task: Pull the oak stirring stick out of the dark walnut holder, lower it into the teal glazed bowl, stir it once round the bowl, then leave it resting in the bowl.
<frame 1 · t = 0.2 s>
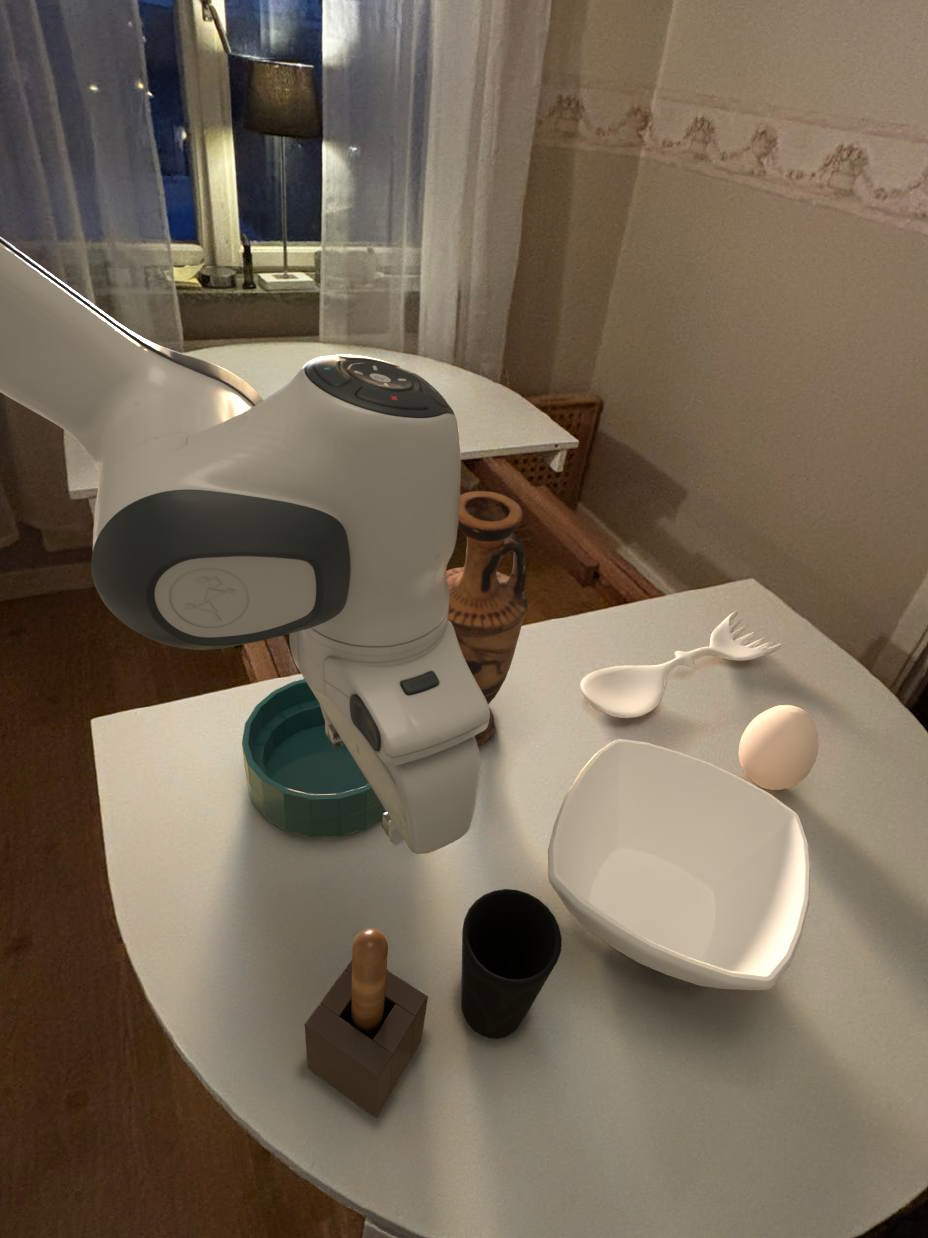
hand: (367, 783, 53), 23 cm above the table, tool pointing down, fingers open, 8 cm apart
vase: (459, 725, 90), on the table
holder: (365, 1054, 60), on the table
spoon: (675, 676, 101), on the table
stick: (368, 1002, 54), in the holder
mixing bowl: (329, 775, 81), on the table
egg: (760, 780, 87), on the table
bowl: (648, 914, 72), on the table
cup: (492, 1006, 64), on the table
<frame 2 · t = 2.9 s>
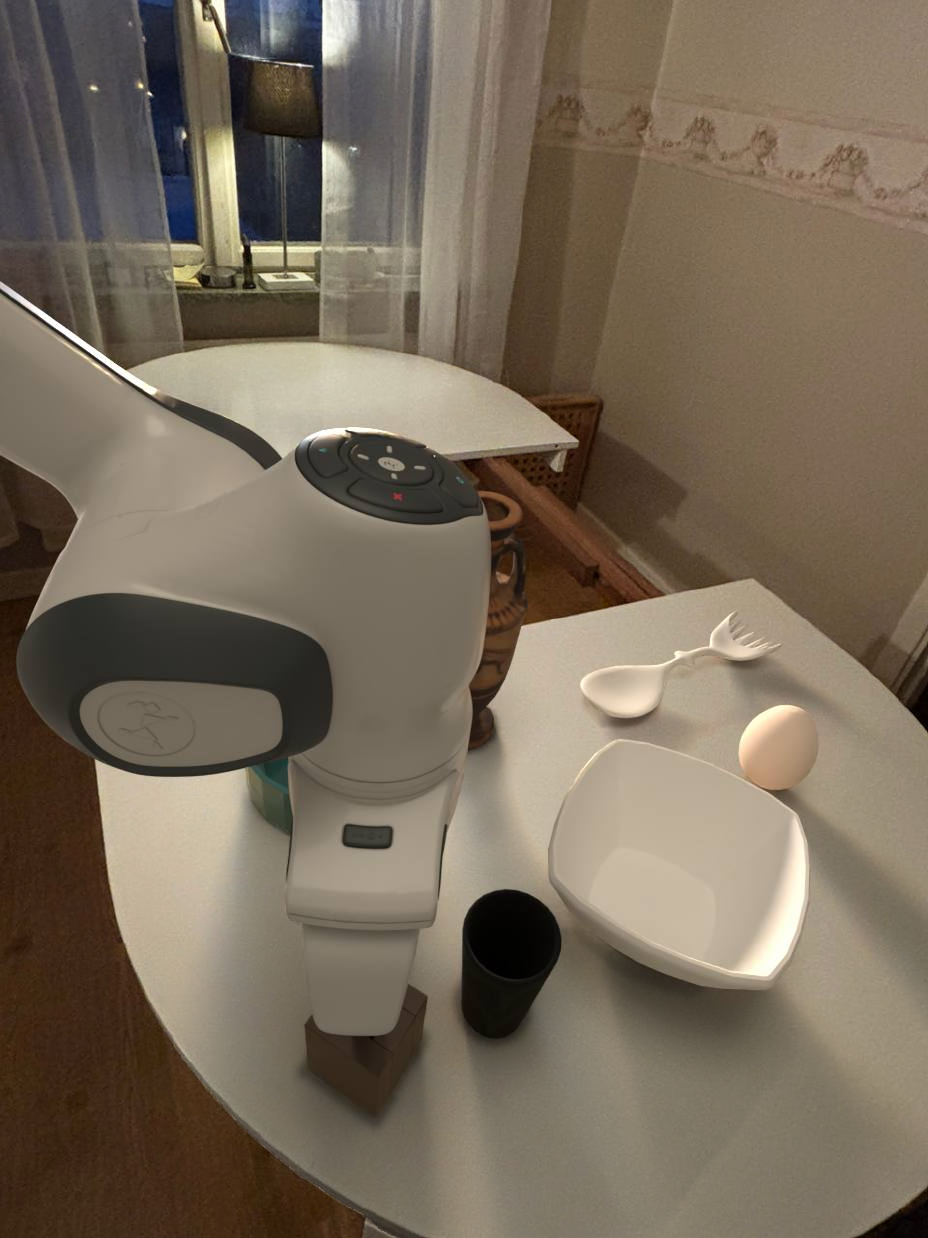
hand: (372, 900, 45), 23 cm above the table, tool pointing down, fingers open, 8 cm apart
nothing on the table moved.
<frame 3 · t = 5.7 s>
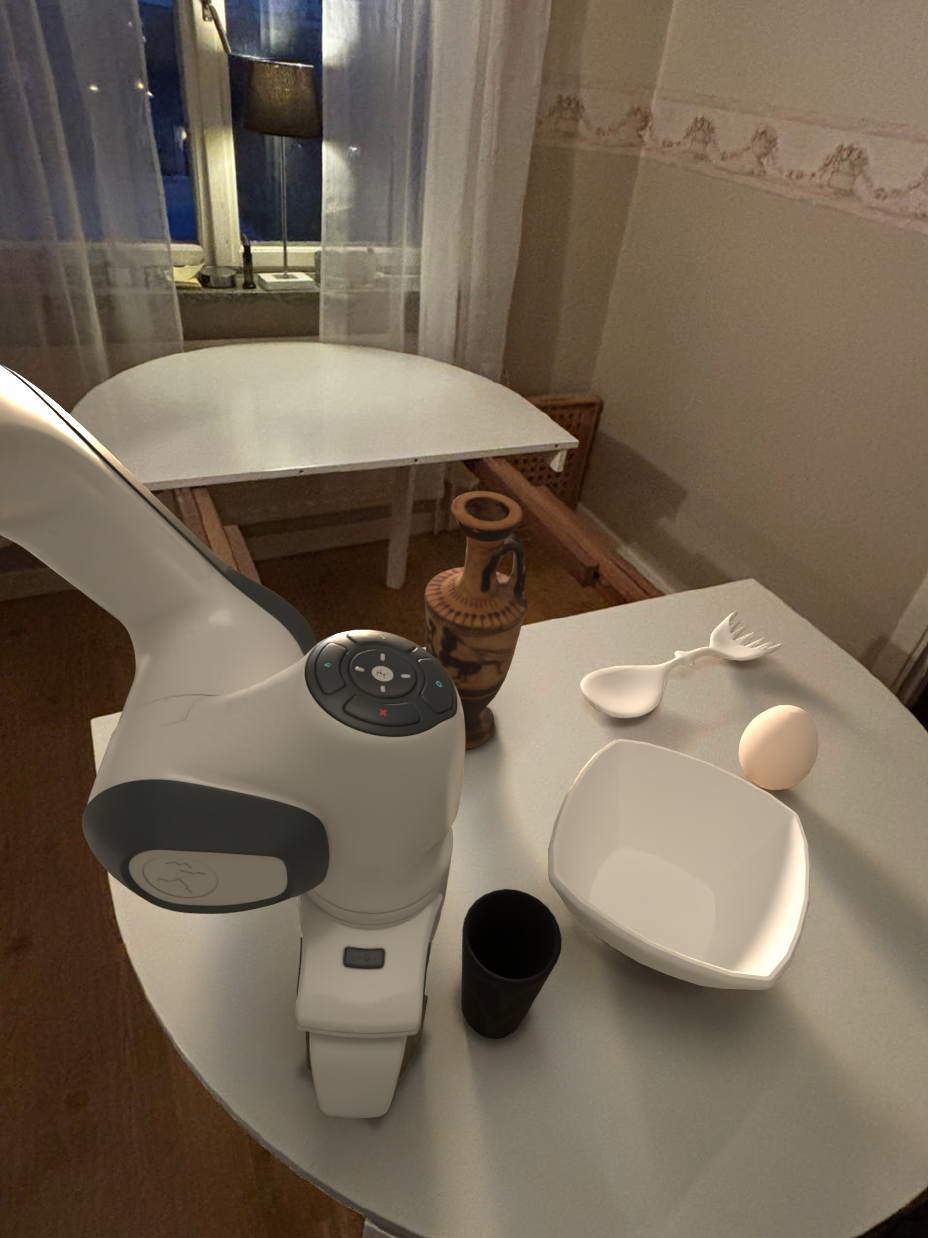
hand: (369, 981, 52), 13 cm above the table, tool pointing down, fingers closed on stick, 2 cm apart
stick: (362, 1003, 54), in the holder, touching gripper
everything else where it was.
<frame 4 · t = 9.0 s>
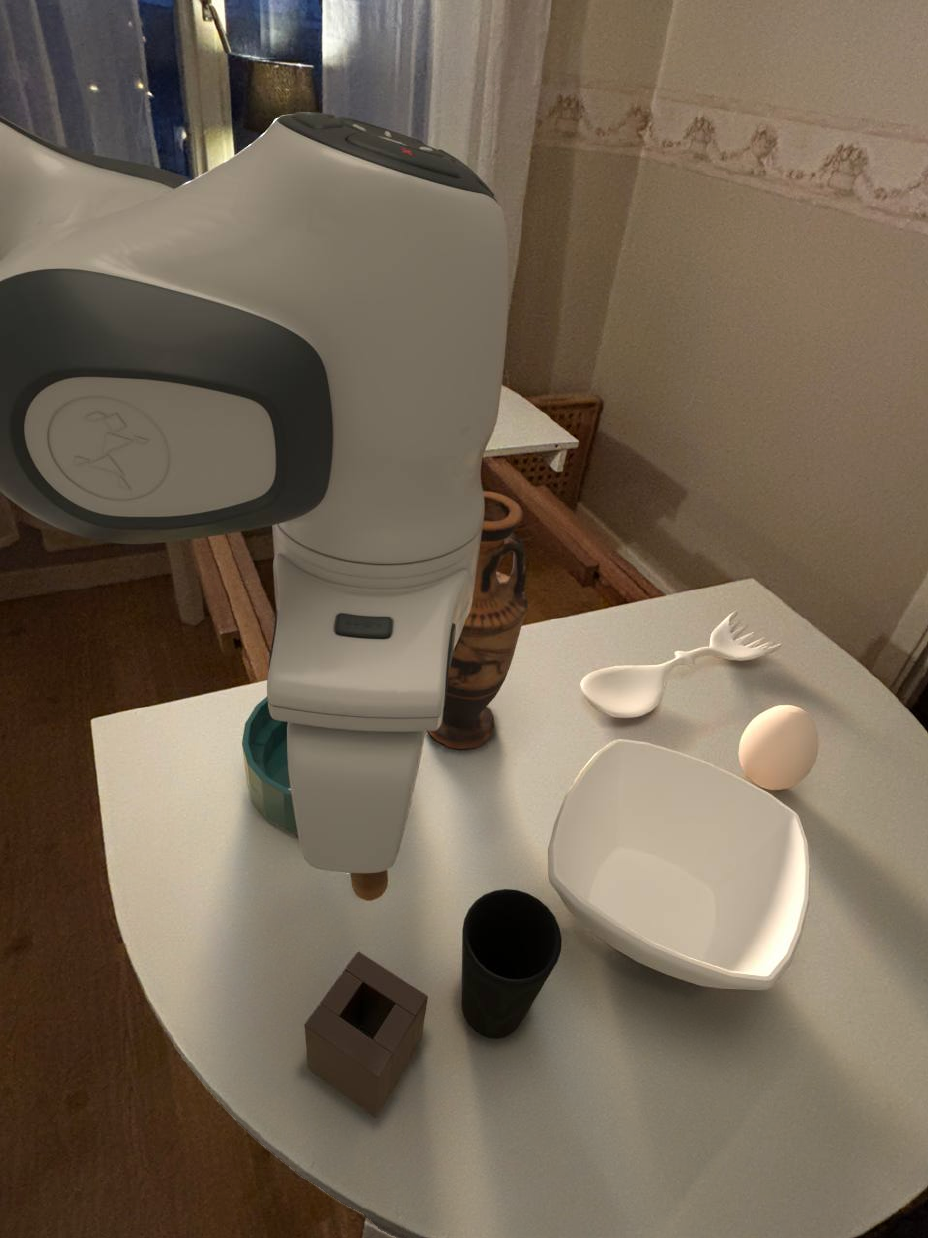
hand: (370, 767, 41), 33 cm above the table, tool pointing down, fingers closed on stick, 2 cm apart
stick: (363, 805, 43), point 29 cm above the table, touching gripper
everything else where it was.
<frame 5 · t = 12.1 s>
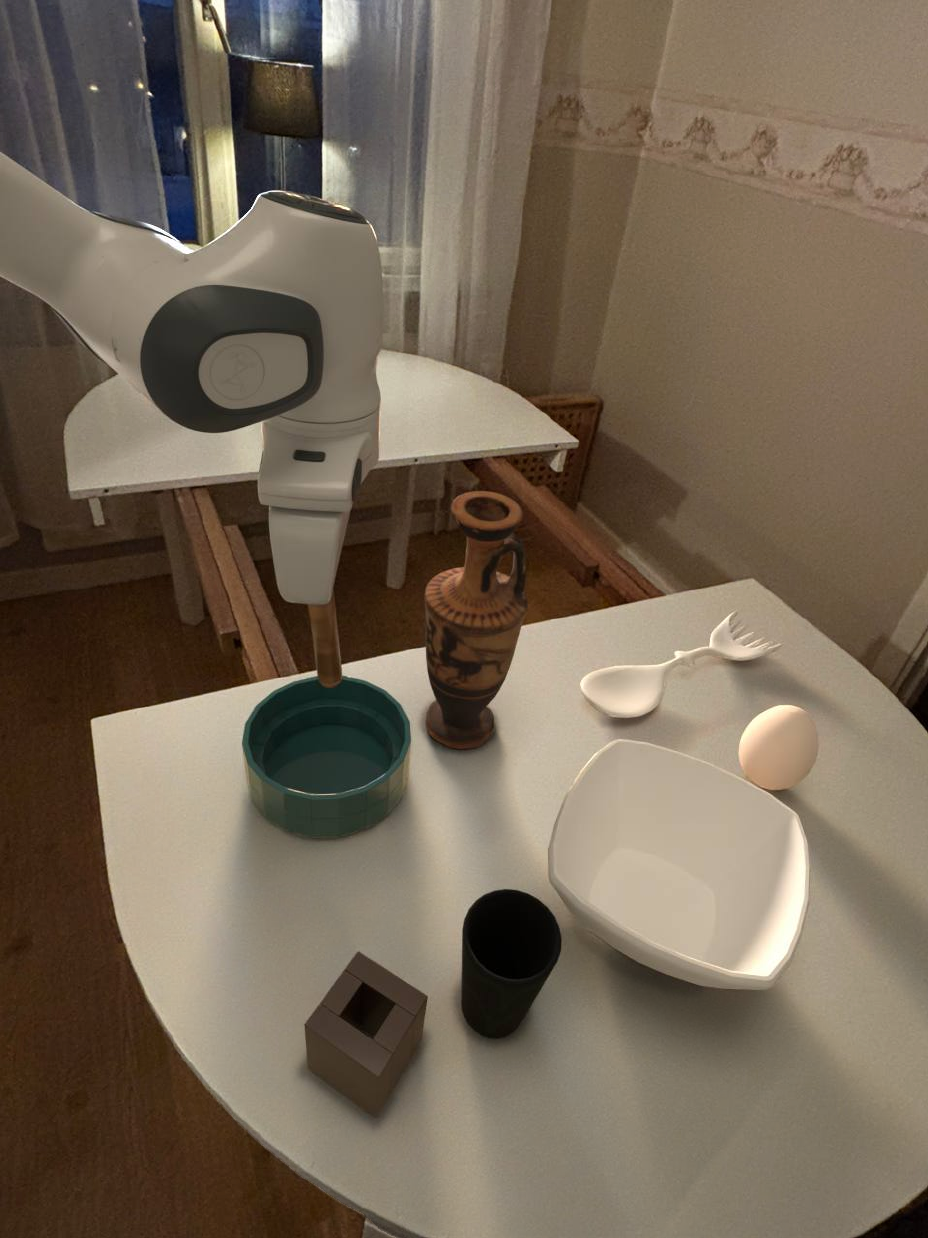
hand: (325, 581, 65), 26 cm above the table, tool pointing down, fingers closed on stick, 2 cm apart
stick: (322, 611, 67), point 23 cm above the table, touching gripper
everything else where it was.
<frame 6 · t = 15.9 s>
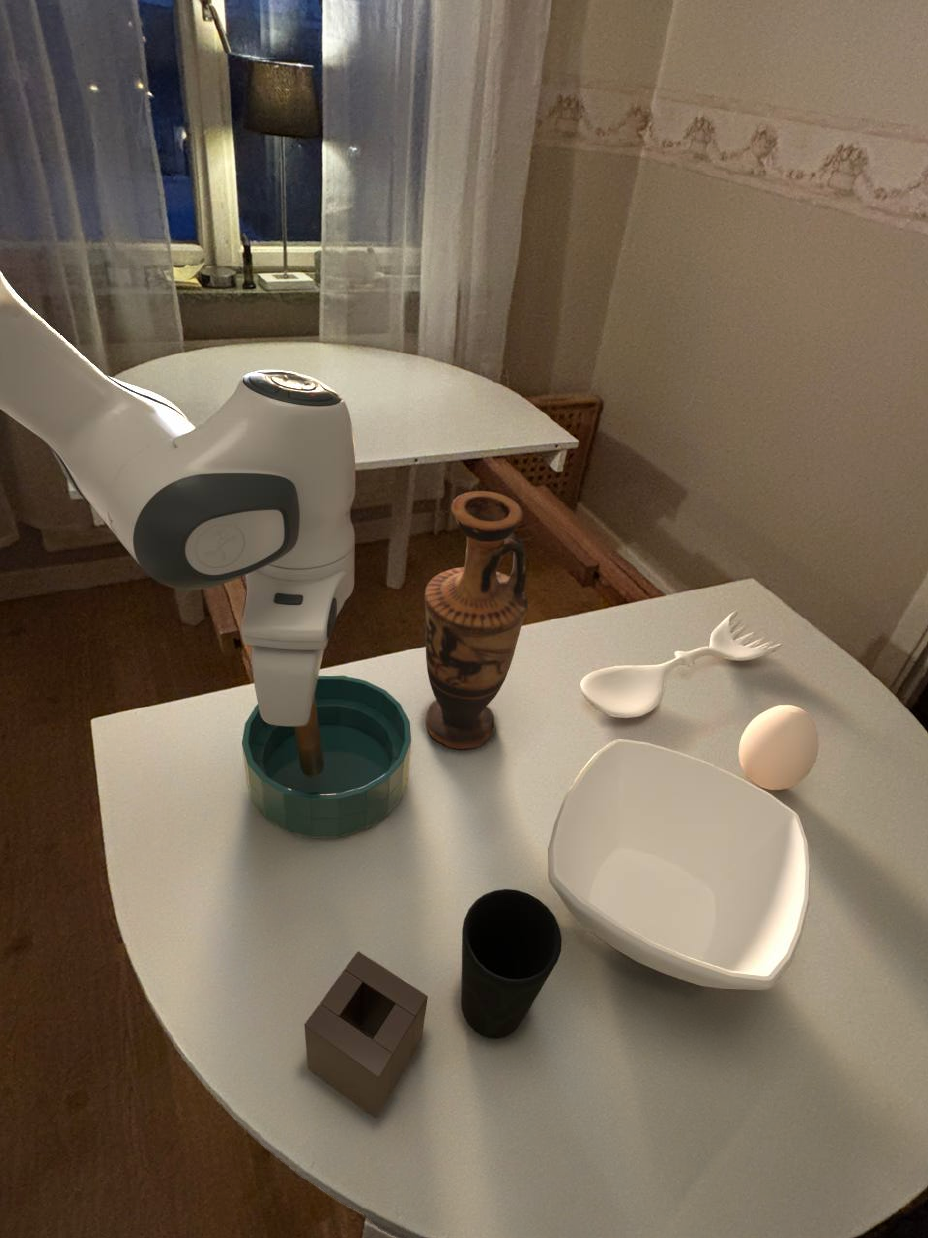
hand: (306, 687, 70), 15 cm above the table, tool pointing down, fingers closed on stick, 2 cm apart
stick: (304, 712, 72), point 12 cm above the table, touching gripper
everything else where it was.
when the fingers open (13 cm above the table, at t = 18.8 s): stick drops 3 cm and tips over, resting on mixing bowl.
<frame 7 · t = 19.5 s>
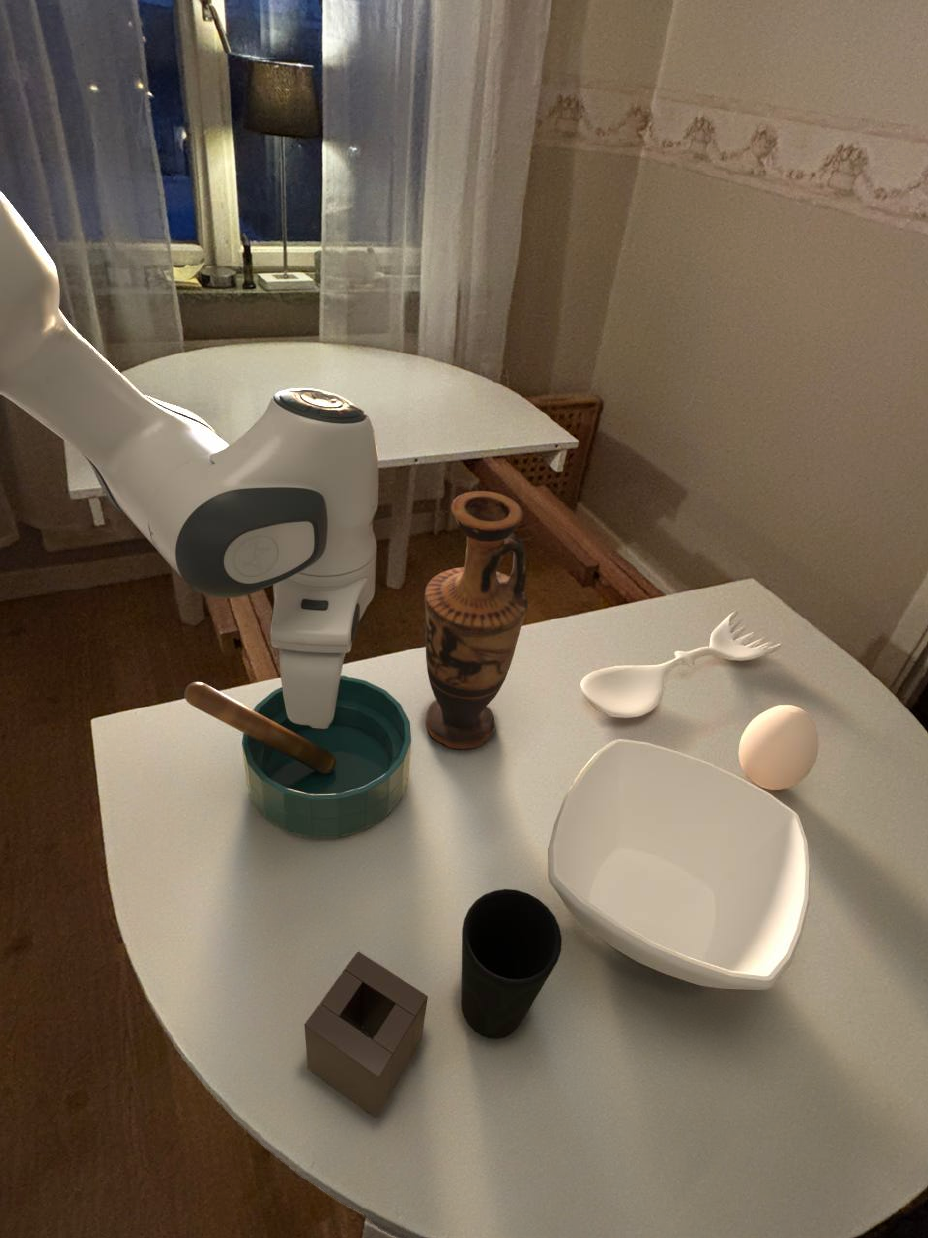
hand: (327, 688, 73), 13 cm above the table, tool pointing down, fingers open, 8 cm apart
stick: (264, 730, 76), in the mixing bowl, tilted 49°
everything else where it was.
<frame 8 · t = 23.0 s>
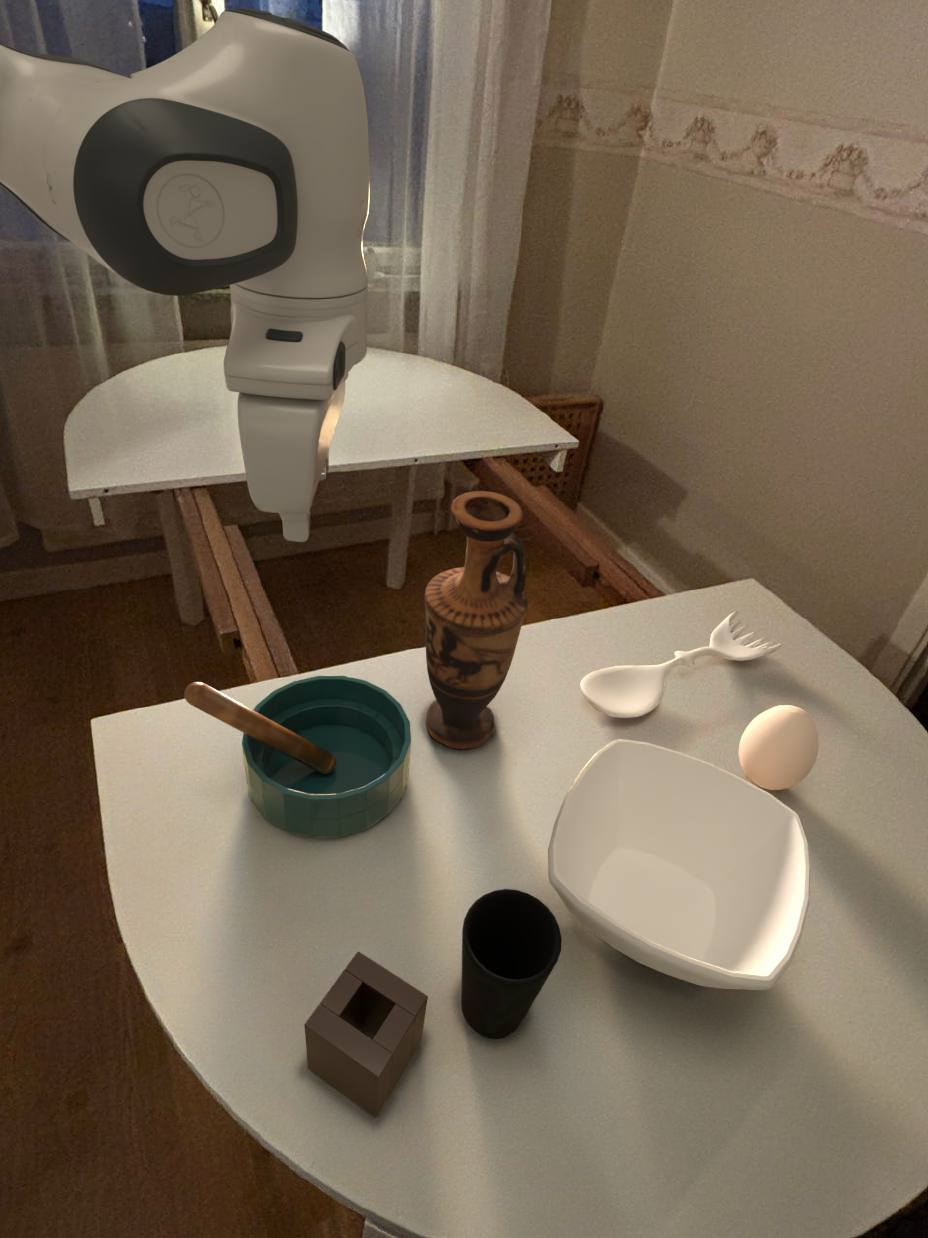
hand: (307, 504, 58), 35 cm above the table, tool pointing down, fingers open, 8 cm apart
nothing on the table moved.
at the end: stick inside the target area in the mixing bowl (0.5 cm from its centre), point 7.2 cm above the mixing bowl's base; the gripper is holding nothing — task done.
